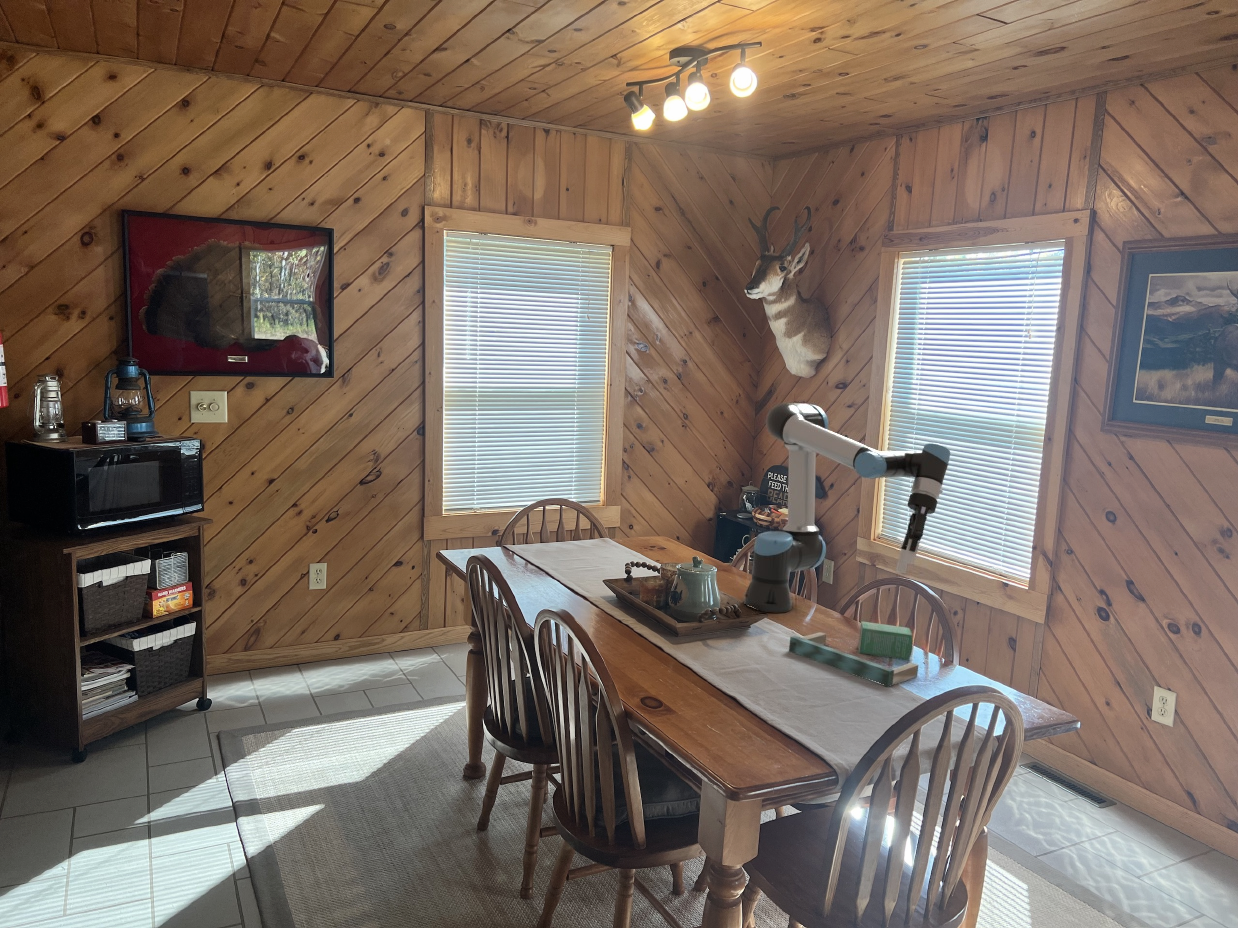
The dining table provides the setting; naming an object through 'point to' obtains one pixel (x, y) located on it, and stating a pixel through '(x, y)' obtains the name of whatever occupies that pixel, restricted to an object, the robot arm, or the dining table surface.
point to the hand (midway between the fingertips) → (904, 567)
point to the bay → (849, 660)
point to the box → (885, 640)
